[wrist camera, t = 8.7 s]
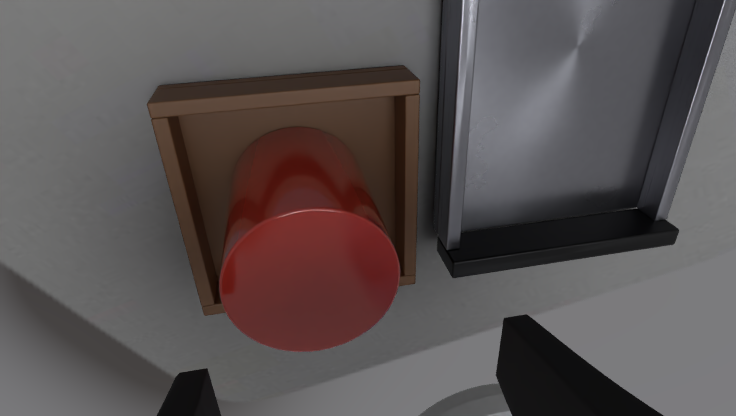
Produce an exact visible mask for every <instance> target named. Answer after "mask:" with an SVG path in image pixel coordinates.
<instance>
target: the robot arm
mask: <svg viewBox="0 0 736 416" xmlns="http://www.w3.org/2000/svg"><path fill="white" fill-rule="evenodd" d="M496 376H497V379H498V382H499V384H500V387H501V389H502V392H503V395H504V397H505V399H506V402H507V404H508V407H509V409H510V411H511V414H512V416H663V415H662V414H660V413H659V412H657V411H656V410H654V409H653V408H651V407H649V406H648V405H647V404H645V403H644V402H642V401H640V400H639V399H638V398H636V397H635V396H633V395H632V394H630V393H629V392H627V391H626V390H624V389H623V388H622V387H620V386H619V385H618V384H616V383H615V382H613V381H612V380H611V379H609V378H608V377H606V376H605V375H604V374H602V373H601V372H600V371H598V370H597V369H596V368H594V367H593V366H592V365H590V364H589V363H588V362H586V361H585V360H584V359H583V358H581V357H580V356H579V355H577V354H576V353H575V352H573V351H572V350H571V349H570V348H568V347H567V346H566V345H565V344H563V343H562V342H561V341H559V340H558V339H557V338H556V337H555V336H553V335H552V334H551V333H550V332H548V331H547V330H546V329H545V328H543V327H542V326H541V325H540V324H538V323H537V322H536V321H535V320H533V319H532V318H531V317H529V316H528V315H527V314H526V315H520V316H514V317H508V318H504V321H503V329H502V336H501V342H500V351H499V357H498V364H497V372H496ZM157 416H221V414H220V410H219V407H218V404H217V400H216V397H215V393H214V390H213V386H212V383H211V379H210V376H209V373H208V369H207V368H206V369H200V370H194V371H188V372H182V373H179V374H178V375H177V376H176V378H175V380H174V382H173V384H172V386H171V388H170V391H169V392H168V394H167V397H166V399H165V401H164V403H163V405H162V407H161V409H160V410H159V413H158V414H157Z"/></svg>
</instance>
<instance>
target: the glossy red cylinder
mask: <svg viewBox="0 0 736 416" xmlns="http://www.w3.org/2000/svg"><path fill="white" fill-rule="evenodd" d="M399 282H400V263H399V259H398V255H397V252H396V250H395V247H394V245H393V243H392V240H391V238H390V236H389V233H388V231H387V229H386V226H385V224H384V222H383V219H382V217H381V215H380V212H379V210H378V208H377V205H376V203H375V200H374V198H373V196H372V193H371V191H370V189H369V186H368V184H367V182H366V179H365V177H364V175H363V172H362V170H361V168H360V165H359V163H358V161H357V159H356V157H355V156H354V154H353V153H352V151H351V150H350V149H349V148H348V147H347V146H346V145H345V144H344V143H343V142H342V141H340V140H339V139H338V138H336V137H335V136H333V135H331V134H329V133H327V132H324V131H321V130H318V129H313V128H308V127H289V128H283V129H279V130H276V131H273V132H270V133H268V134H266V135H264V136H262V137H260V138H259V139H257V140H256V141H254V142H253V143H252V144H251V145H249V147H248V148H247V149H246V150H245V151H244V152H243V153H242V155H241V156H240V157H239V159H238V161H237V163H236V165H235V167H234V170H233V173H232V177H231V183H230V192H229V200H228V209H227V217H226V226H225V234H224V243H223V251H222V260H221V268H220V277H219V293H220V299H221V302H222V305H223V308H224V310H225V312H226V314H227V315H228V317H229V319H230V320H231V321H232V322H233V324H234V325H235V326H236V327H237V328H238V329H239V330H240V331H241V332H242V333H244V334H245V335H246V336H248V337H249V338H251V339H252V340H254V341H256V342H258V343H260V344H263V345H265V346H268V347H271V348H274V349H278V350H284V351H292V352H312V351H320V350H325V349H329V348H333V347H336V346H339V345H342V344H345V343H347V342H349V341H351V340H353V339H355V338H357V337H359V336H361V335H362V334H364V333H365V332H366V331H368V330H369V329H370V328H372V327H373V326H374V325H375V324H376V323H377V322H378V321H379V320H380V319H381V318H382V317H383V316H384V315H385V313H386V312H387V311H388V309H389V308H390V306H391V304H392V302H393V301H394V298H395V296H396V293H397V290H398V286H399Z"/></svg>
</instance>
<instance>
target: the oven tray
mask: <svg viewBox="0 0 736 416" xmlns="http://www.w3.org/2000/svg"><path fill="white" fill-rule="evenodd" d="M735 9H736V0H443V15H442V38H441V61H440V85H439V108H438V131H437V155H436V178H435V201H434V225H433V228H434V229H435V231H436V233H437V234H438V242H437V251H438V253H439V255H440V257H441V258H442V260H443V262H444V264H445V266H446V267H447V269H448V271H449V273H450V275H451V276H452V278H457V277H464V276H470V275H477V274H483V273H490V272H497V271H503V270H510V269H516V268H523V267H529V266H536V265H542V264H549V263H556V262H562V261H569V260H575V259H582V258H588V257H595V256H601V255H608V254H615V253H621V252H628V251H634V250H641V249H647V248H654V247H661V246H667V245H673V244H674V243H675V241H676V238H677V235H678V233H679V229H678V228H676V227H675V226H674V225H672V224H671V223H669V222H668V221H667V220H665V219H667V216H668V213H669V210H670V207H671V204H672V201H673V198H674V195H675V192H676V189H677V186H678V183H679V180H680V177H681V173H682V170H683V167H684V164H685V161H686V158H687V155H688V152H689V149H690V146H691V143H692V140H693V137H694V134H695V131H696V128H697V125H698V122H699V119H700V116H701V113H702V110H703V107H704V104H705V101H706V97H707V94H708V91H709V88H710V85H711V82H712V79H713V76H714V73H715V70H716V67H717V64H718V61H719V58H720V55H721V52H722V49H723V46H724V43H725V40H726V37H727V34H728V31H729V28H730V25H731V21H732V18H733V15H734V12H735ZM634 207H637V208H638V209H630V210H623V211H616V212H609V213H601V214H594V215H587V216H580V217H572V218H565V219H558V220H551V221H543V222H536V223H529V224H522V225H514V226H507V227H500V228H493V229H486V230H478V231H471V232H464V233H461V231H467V230H474V229H481V228H489V227H496V226H503V225H511V224H518V223H525V222H532V221H540V220H547V219H554V218H561V217H569V216H576V215H583V214H590V213H598V212H605V211H612V210H620V209H627V208H634Z"/></svg>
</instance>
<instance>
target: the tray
mask: <svg viewBox="0 0 736 416" xmlns="http://www.w3.org/2000/svg"><path fill="white" fill-rule="evenodd" d="M419 93H420V80H419V79H418V78H417V77H416V76H415V75H414V74H413V73H412V72H411V71H410V70H409V69H407V68H406V67H405V66H404V65H403V66H391V67H379V68H367V69H354V70H342V71H330V72H318V73H305V74H293V75H281V76H269V77H257V78H244V79H232V80H220V81H208V82H196V83H183V84H171V85H160V86H158V88H157V89H156V91H155V92H154V94H153V95H152V97H151V98H150V100H149V101H148V103H147V106H148V110H149V114H150V117H151V118H152V119H151V122H152V125H153V129H154V133H155V136H156V140H157V144H158V147H159V151H160V155H161V158H162V162H163V166H164V169H165V173H166V177H167V180H168V184H169V188H170V192H171V195H172V199H173V203H174V206H175V210H176V214H177V217H178V221H179V225H180V228H181V232H182V236H183V239H184V243H185V247H186V250H187V254H188V258H189V262H190V265H191V269H192V273H193V276H194V280H195V284H196V287H197V291H198V295H199V298H200V302H201V305H202V309H203V313H204V315H205V316H207V315H213V314H220V313H226V312H225V310H224V308H223V305H222V302H221V299H220V293H219V277H220V268H221V260H222V251H223V243H224V234H225V226H226V217H227V209H228V200H229V192H230V183H231V177H232V173H233V170H234V167H235V165H236V163H237V161H238V159H239V157H240V156H241V155H242V153H243V152H244V151H245V150H246V149H247V148H248V147H249V145H251V144H252V143H253V142H254V141H256V140H257V139H259V138H260V137H262V136H264V135H266V134H268V133H270V132H273V131H276V130H279V129H283V128H289V127H308V128H313V129H318V130H321V131H324V132H327V133H329V134H331V135H333V136H335V137H336V138H338V139H339V140H340V141H342V142H343V143H344V144H345V145H346V146H347V147H348V148H349V149H350V150H351V151H352V153H353V154H354V156H355V157H356V159H357V161H358V163H359V165H360V168H361V170H362V172H363V175H364V177H365V179H366V182H367V184H368V186H369V189H370V191H371V193H372V196H373V198H374V200H375V203H376V205H377V208H378V210H379V212H380V215H381V217H382V219H383V222H384V224H385V226H386V229H387V231H388V233H389V236H390V238H391V240H392V243H393V245H394V247H395V250H396V252H397V255H398V259H399V263H400V282H399V286H403V285H410V284H415V280H416V275H415V274H416V238H417V193H418V148H419V103H420V95H419Z"/></svg>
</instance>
